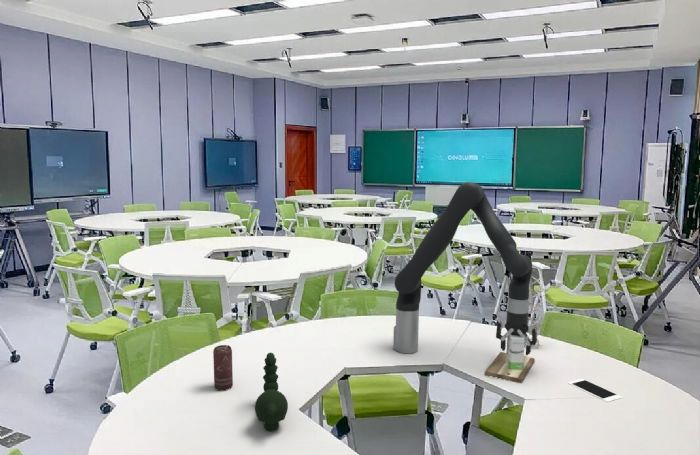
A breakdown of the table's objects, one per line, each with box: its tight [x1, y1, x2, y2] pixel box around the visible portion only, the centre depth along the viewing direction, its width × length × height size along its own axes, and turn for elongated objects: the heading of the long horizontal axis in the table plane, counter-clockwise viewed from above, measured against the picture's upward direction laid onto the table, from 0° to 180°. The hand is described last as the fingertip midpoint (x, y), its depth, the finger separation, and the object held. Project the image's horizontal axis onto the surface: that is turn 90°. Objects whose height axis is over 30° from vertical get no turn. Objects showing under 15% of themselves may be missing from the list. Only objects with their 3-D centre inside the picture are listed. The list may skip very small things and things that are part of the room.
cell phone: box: [567, 378, 624, 403], centre depth 180 cm, size 8×16×1 cm, turn 27°
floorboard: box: [484, 351, 536, 384], centre depth 198 cm, size 13×22×2 cm, turn 150°
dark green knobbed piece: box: [254, 352, 289, 432], centre depth 158 cm, size 9×19×25 cm
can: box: [212, 344, 234, 391], centre depth 179 cm, size 6×6×14 cm
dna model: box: [524, 275, 544, 349], centre depth 218 cm, size 7×6×30 cm
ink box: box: [505, 334, 525, 369], centre depth 196 cm, size 9×5×12 cm, turn 174°
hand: (515, 352), depth 196 cm, fingers open, 8 cm apart
